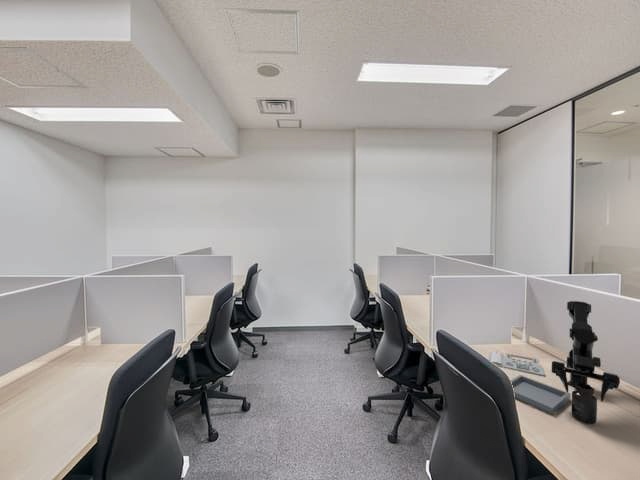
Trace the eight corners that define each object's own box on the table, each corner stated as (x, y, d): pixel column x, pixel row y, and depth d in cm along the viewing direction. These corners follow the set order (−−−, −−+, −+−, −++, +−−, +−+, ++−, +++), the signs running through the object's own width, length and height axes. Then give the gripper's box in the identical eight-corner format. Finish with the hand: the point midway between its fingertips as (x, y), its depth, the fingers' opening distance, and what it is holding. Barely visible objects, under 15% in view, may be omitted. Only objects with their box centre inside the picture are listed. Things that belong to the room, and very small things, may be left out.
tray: (520, 380, 131) (520, 374, 131) (570, 399, 116) (570, 393, 116) (500, 392, 121) (500, 386, 121) (552, 415, 106) (552, 408, 106)
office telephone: (487, 360, 147) (489, 347, 164) (487, 365, 147) (489, 352, 164) (545, 372, 134) (540, 356, 151) (545, 377, 134) (540, 361, 151)
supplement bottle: (601, 426, 100) (602, 392, 100) (579, 423, 101) (580, 390, 101) (587, 414, 107) (588, 382, 106) (566, 411, 108) (567, 380, 108)
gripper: (552, 340, 114) (551, 378, 105) (619, 353, 102) (624, 397, 93) (551, 353, 120) (551, 390, 112) (615, 367, 108) (619, 409, 100)
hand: (584, 396), depth 104 cm, fingers open, 9 cm apart
